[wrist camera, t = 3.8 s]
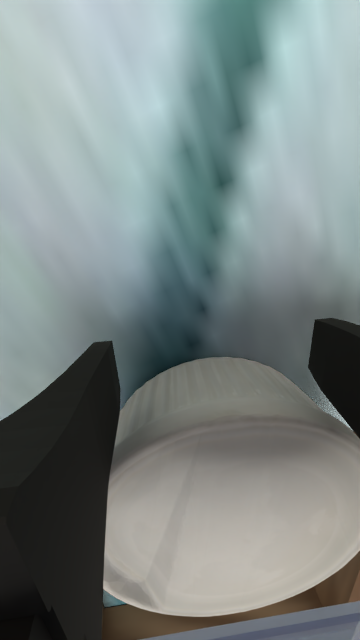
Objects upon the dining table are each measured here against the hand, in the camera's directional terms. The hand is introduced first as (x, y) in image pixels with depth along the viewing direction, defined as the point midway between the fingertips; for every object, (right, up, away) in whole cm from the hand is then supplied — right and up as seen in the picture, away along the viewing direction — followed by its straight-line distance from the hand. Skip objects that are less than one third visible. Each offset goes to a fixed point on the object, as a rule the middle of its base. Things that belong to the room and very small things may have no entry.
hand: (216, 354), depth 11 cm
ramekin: (0, -4, +5) cm, 7 cm away
